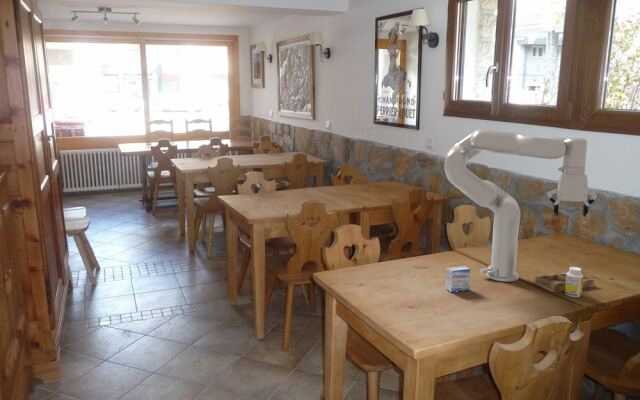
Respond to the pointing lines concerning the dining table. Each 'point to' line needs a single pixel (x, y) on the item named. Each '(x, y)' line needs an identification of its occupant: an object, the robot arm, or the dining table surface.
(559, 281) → the divided well tray
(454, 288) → the medicine box
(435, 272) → the dining table surface
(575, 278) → the supplement bottle
